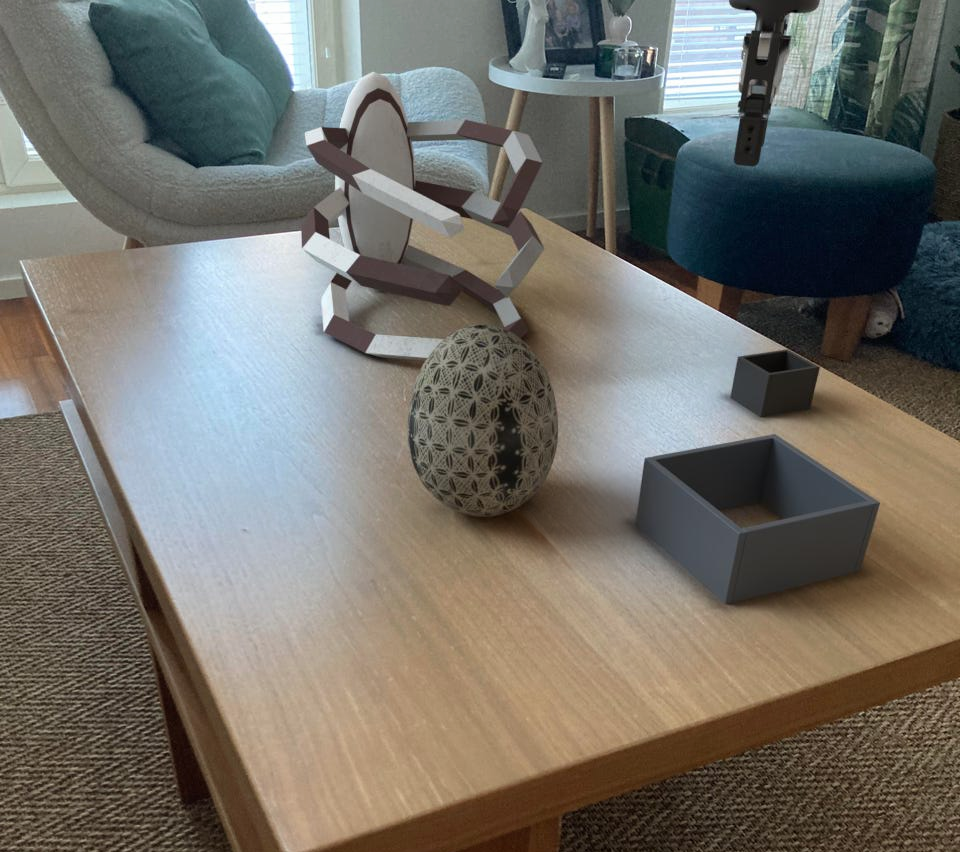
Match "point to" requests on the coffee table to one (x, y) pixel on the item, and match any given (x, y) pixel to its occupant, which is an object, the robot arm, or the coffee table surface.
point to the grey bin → (761, 548)
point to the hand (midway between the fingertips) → (748, 156)
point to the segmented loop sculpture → (408, 216)
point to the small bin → (774, 382)
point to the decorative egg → (482, 422)
